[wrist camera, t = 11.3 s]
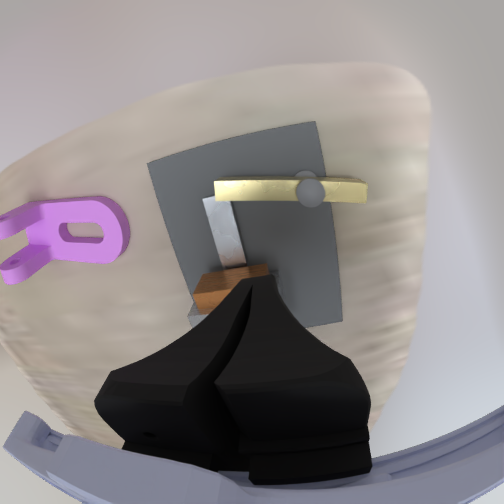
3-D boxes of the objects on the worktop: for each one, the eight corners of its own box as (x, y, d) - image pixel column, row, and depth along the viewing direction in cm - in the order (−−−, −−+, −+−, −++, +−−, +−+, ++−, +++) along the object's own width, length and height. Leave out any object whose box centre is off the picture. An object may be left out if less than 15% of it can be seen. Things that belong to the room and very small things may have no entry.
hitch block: (291, 327, 23) (292, 369, 19) (225, 335, 24) (215, 375, 20) (259, 183, 18) (254, 200, 14) (179, 202, 19) (151, 223, 15)
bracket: (40, 251, 23) (-2, 281, 17) (29, 201, 21) (-18, 225, 14) (135, 258, 22) (92, 303, 16) (126, 194, 20) (71, 223, 13)
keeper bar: (220, 195, 17) (215, 201, 16) (219, 177, 17) (214, 181, 16) (358, 197, 17) (366, 203, 15) (360, 179, 16) (367, 183, 15)
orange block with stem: (283, 334, 22) (283, 359, 19) (227, 340, 23) (221, 364, 20) (266, 262, 19) (265, 283, 17) (203, 273, 20) (192, 294, 17)
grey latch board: (341, 318, 22) (349, 348, 19) (209, 336, 24) (200, 365, 21) (314, 121, 16) (323, 118, 13) (149, 162, 18) (123, 170, 15)
